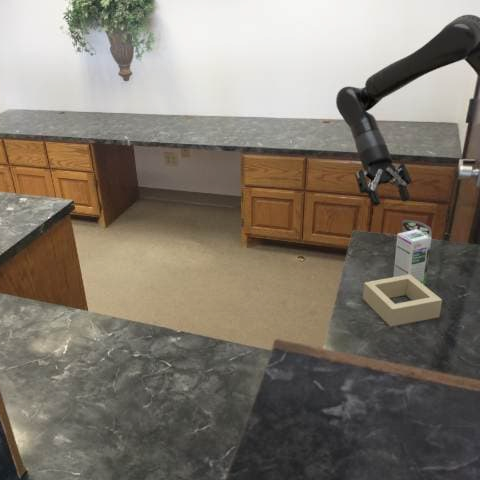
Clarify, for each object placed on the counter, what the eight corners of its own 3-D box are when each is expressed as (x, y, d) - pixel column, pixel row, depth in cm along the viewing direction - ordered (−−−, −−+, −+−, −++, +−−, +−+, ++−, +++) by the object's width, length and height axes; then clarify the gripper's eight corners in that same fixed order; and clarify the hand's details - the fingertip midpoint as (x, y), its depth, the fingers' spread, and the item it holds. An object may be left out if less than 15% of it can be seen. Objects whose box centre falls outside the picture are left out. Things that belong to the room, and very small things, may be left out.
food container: (434, 270, 140) (439, 237, 136) (410, 270, 141) (414, 238, 137) (421, 249, 151) (425, 218, 147) (398, 249, 152) (402, 219, 148)
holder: (362, 298, 132) (364, 282, 129) (407, 290, 133) (410, 274, 131) (390, 326, 120) (392, 309, 118) (439, 317, 122) (442, 299, 119)
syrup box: (407, 290, 133) (413, 241, 126) (391, 280, 138) (397, 232, 132) (425, 285, 134) (432, 236, 128) (409, 275, 139) (416, 227, 133)
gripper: (355, 146, 138) (374, 201, 133) (402, 139, 140) (423, 193, 135) (343, 159, 145) (361, 211, 140) (388, 153, 147) (407, 204, 142)
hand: (391, 202), depth 138 cm, fingers open, 8 cm apart
